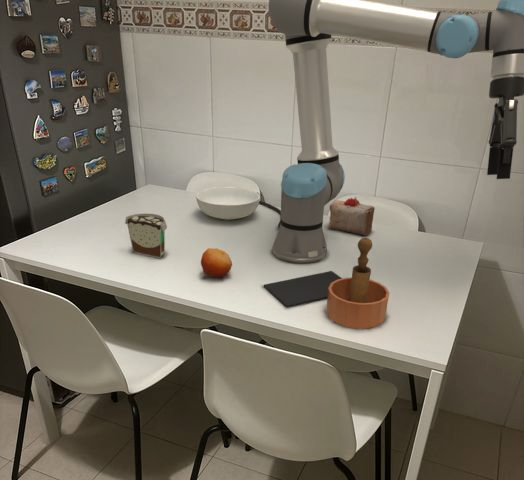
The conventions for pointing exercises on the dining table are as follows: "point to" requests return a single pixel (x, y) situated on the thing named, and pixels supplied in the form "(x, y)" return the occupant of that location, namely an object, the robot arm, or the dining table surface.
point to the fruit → (215, 263)
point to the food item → (351, 216)
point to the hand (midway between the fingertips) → (497, 176)
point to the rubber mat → (302, 288)
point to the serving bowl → (228, 202)
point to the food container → (147, 234)
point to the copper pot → (357, 305)
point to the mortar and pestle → (361, 274)
